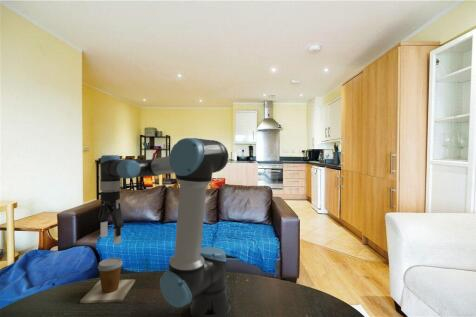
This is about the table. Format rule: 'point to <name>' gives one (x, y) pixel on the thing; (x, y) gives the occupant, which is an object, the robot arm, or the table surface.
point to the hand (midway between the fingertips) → (110, 240)
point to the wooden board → (117, 296)
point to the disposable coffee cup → (110, 274)
